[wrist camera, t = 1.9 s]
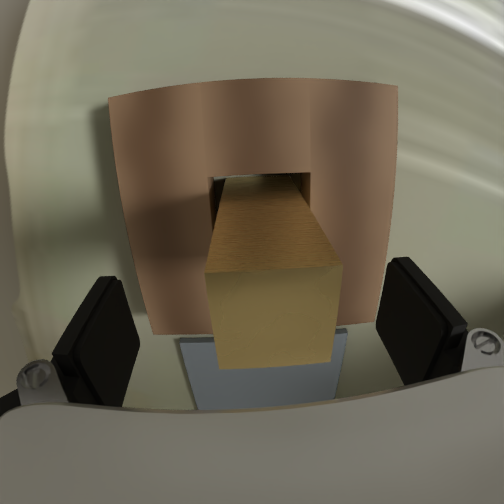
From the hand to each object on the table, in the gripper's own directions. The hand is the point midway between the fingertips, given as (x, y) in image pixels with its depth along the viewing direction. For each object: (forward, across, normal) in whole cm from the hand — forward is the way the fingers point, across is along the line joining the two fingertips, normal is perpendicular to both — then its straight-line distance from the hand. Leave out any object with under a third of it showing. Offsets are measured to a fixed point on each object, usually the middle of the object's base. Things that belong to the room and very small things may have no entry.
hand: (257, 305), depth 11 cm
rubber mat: (+11, -1, +18) cm, 21 cm away
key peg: (+11, -1, 0) cm, 11 cm away
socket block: (+11, -1, 0) cm, 11 cm away
